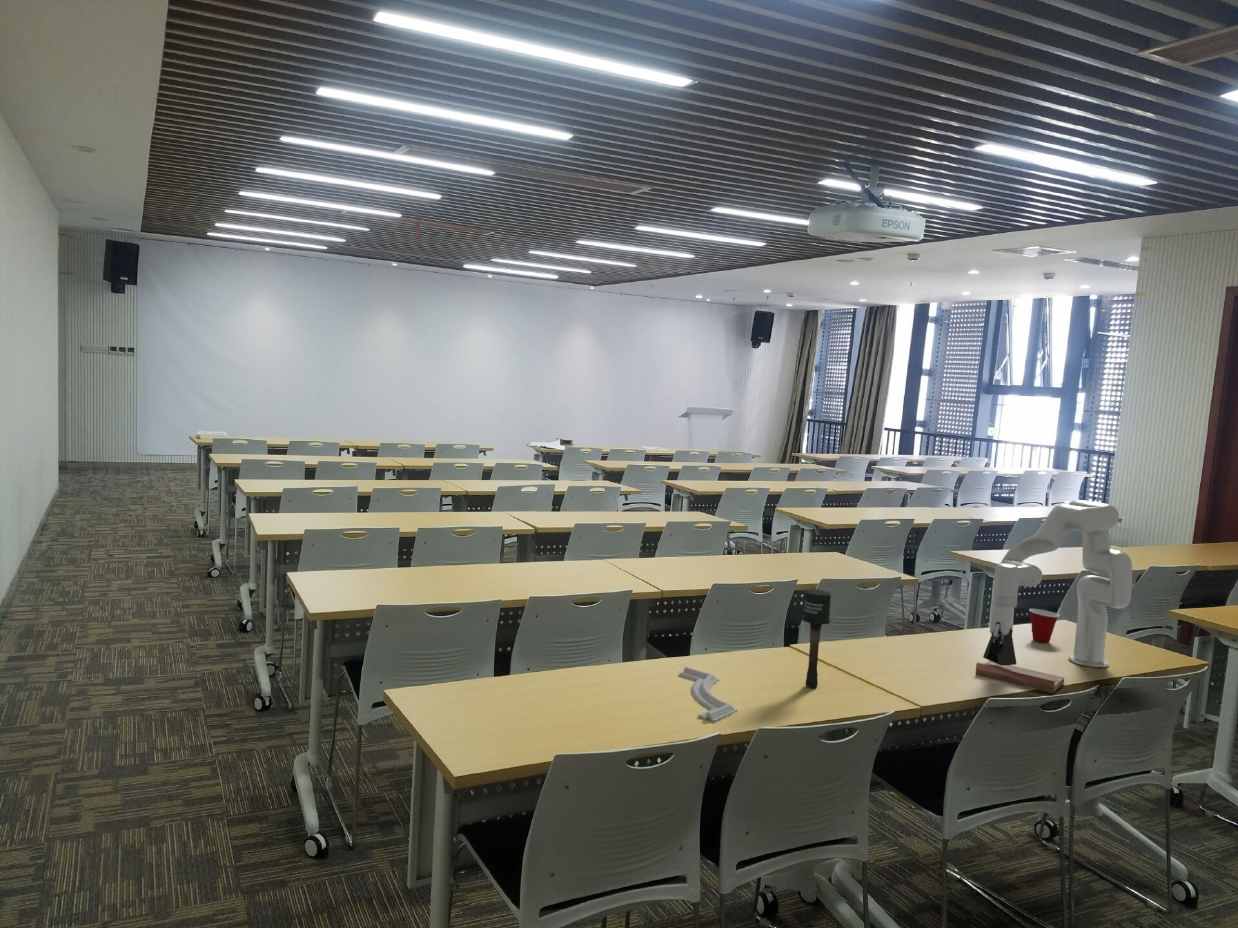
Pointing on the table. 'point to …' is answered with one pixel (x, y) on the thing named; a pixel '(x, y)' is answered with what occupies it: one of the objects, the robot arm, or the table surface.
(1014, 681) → the board
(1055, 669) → the table surface
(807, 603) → the stick grenade
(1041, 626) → the plastic cup
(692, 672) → the molding
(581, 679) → the table surface
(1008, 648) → the door stopper
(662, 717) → the table surface
